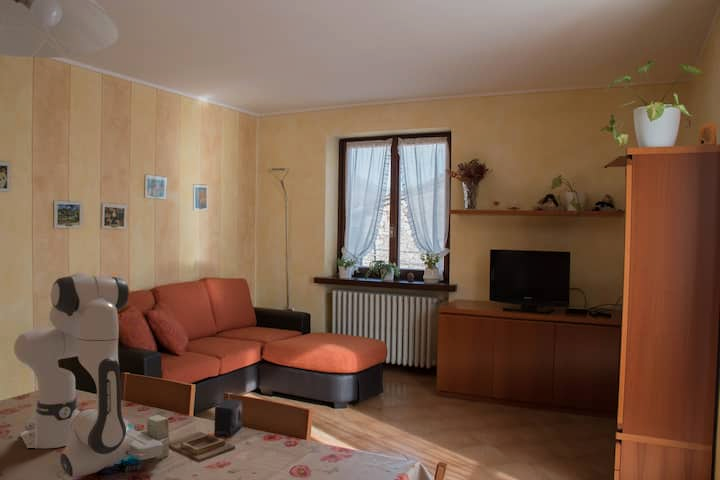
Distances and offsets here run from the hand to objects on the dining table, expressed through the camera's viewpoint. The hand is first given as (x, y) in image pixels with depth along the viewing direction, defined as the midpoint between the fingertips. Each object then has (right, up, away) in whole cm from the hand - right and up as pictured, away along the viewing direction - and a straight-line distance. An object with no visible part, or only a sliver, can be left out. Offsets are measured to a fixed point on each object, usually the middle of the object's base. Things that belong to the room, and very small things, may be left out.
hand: (159, 436), depth 187 cm
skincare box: (-1, -6, 0) cm, 6 cm away
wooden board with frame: (+11, -6, +7) cm, 14 cm away
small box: (+17, -6, +21) cm, 28 cm away
